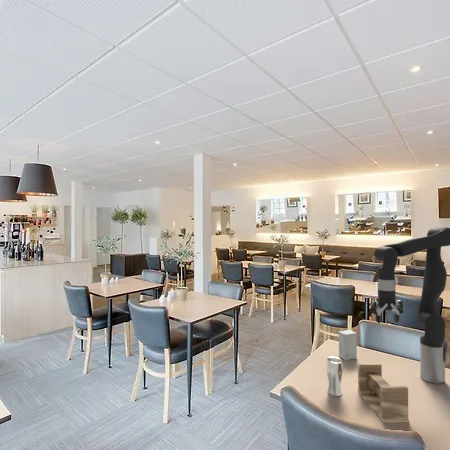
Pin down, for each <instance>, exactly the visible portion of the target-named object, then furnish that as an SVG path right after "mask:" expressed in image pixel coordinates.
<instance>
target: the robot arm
mask: <svg viewBox="0 0 450 450" xmlns="http://www.w3.org/2000/svg"><path fill="white" fill-rule="evenodd" d="M442 247H450V227H446V226H445V227H444V226H433V227H431V228H429V230H428V231H427V234H426V236H422V237H414V238H409V239H405V240H402V241H399V242H396V243H391V244H385V245H381V246H379V247H376V249H374V252H373V253H374V257H375V259H377V260H378V261H379V262H380V261H381V262H382V266H379V267H378V268H377V300H371V303H370V313H371V314H372V315H375V316H374V317H375V322H376V323H377V324H381V314H382V313H383V312H384V311H392V312H393V322H394V323H397V324H398V323H399V321H400V315H401V314H404V307H403V305H404V304H403V301H402V300H400V299H397V300H396V297H397V296H396V295H397V293H396V280H395V278H396V277H395V276H396V275H395V270H396V267H397V263H398V258H399V257H400V258H402V257H406V256H409V255H413V254H415V253H418V252H422V251H426V253H425V254H426V258H425V265H424V266H425V267H424V272H423V273H424V274H423V281H422V290H421V298H420V302H419V305H418V306H419V307H418V309H417V315H416V320H417V323H418V325H420V327H422V328H423V329H424V335H421V336H420V338H419V344H420V345H419V348H420V349H419V353H420V354H419V355H420V356H419V361H420V362H419V364H420V366H419V367H420V368H419V369H420V372H419V373H420V374H419V375H420V376H419V377H420V378H421V379H422V380H424V381H425V382H427V383H431V384H437V385H438V384H439V385H440V384H443V383H445V382H446V362H445V361H444V357H443V356H444V355H443V354H444V352H443V351H444V349H443V348H444V347H443V346H444V342H445V338H446V322H445V319H444V317H443V316H442V315H440V314H438V313H437V312H436V309H437V302H438V300H439V298H440V296H441V295H442V293H443V292H444V290H445V289H446V285H447V276H448V274H447V273H448V272H447V269H446V266H445V264H444V262H443V259H442V253H441V250H442ZM396 307H397V308H396Z"/></svg>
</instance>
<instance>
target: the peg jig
mask: <svg viewBox="0 0 450 450" xmlns="http://www.w3.org/2000/svg"><path fill="white" fill-rule="evenodd" d="M367 373H378V374H379V375H380V376H381V377H382V378H383V375H382V374H383V373H382V364H381V363H379V362H377V363H375V362H373V363H372V362H371V363H370V362H369V363H365V362H364V363H359V362H358V363H357V382H358V383H357V384H358V385H357V386H358V387H357V392H358V394H359V395H360V396H361V397H362V399H364V401H365V403H367V405H369V407H370V409H372V411H373V412H374V413H375V415H376V416H377V417H378V418H379V420H380V421H381V422H382V423H384V424H385V423H386V424H390V423H391V424H392V423H393V424H394V423H398V422H401V423H402V422H406V423H410V419H409V387H408V386H406V385H390V386H380V395H381V398H380V397H379V396H378V395H377V394H376V393H375V392H374V391H373V390H372V389H371V387H370V386H369V385H368V384H367ZM401 423H400V424H401Z"/></svg>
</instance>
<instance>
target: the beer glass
mask: <svg viewBox="0 0 450 450" xmlns="http://www.w3.org/2000/svg"><path fill="white" fill-rule="evenodd" d="M343 366H344V364H343V360H342V358H341V357H340V358H339V357H337V356H328V357H327V358H326V376H327V381H328V383H327V384H328V387H327V393H328V395H331V396H333V397H340V396H343V395H342V394H343V393H342V380H343V374H344V371H343V370H344V368H343Z"/></svg>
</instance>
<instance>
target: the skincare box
mask: <svg viewBox="0 0 450 450" xmlns="http://www.w3.org/2000/svg"><path fill="white" fill-rule="evenodd" d="M357 335H358V333H356V332H355V331H353V330H351V329H347V330H340V331H339V330H338V356H339V357H340V359H343V360H344V361H348V360H354V359H358V348H357V347H358V344H357V343H358V340H357V339H358V336H357Z"/></svg>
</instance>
